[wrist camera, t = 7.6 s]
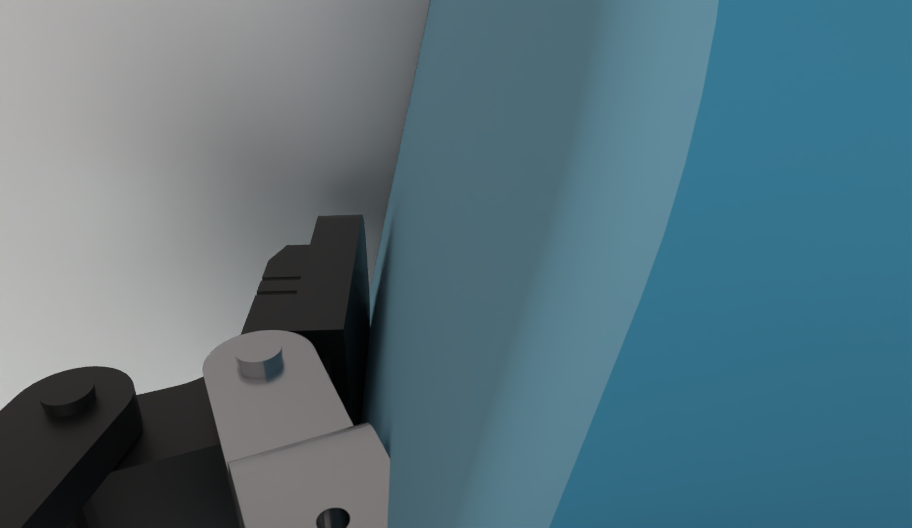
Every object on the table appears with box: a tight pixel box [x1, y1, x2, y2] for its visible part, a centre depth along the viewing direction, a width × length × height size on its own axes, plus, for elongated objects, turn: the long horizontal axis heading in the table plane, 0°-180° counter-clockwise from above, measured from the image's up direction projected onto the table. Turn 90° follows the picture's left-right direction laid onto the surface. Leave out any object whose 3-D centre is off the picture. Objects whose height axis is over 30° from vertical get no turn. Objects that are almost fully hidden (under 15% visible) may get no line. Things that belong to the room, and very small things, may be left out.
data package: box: [361, 0, 912, 528], centre depth 10 cm, size 12×4×12 cm, turn 167°
